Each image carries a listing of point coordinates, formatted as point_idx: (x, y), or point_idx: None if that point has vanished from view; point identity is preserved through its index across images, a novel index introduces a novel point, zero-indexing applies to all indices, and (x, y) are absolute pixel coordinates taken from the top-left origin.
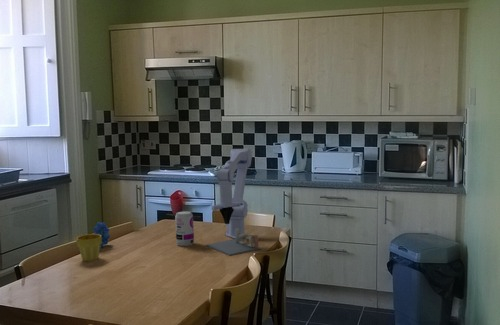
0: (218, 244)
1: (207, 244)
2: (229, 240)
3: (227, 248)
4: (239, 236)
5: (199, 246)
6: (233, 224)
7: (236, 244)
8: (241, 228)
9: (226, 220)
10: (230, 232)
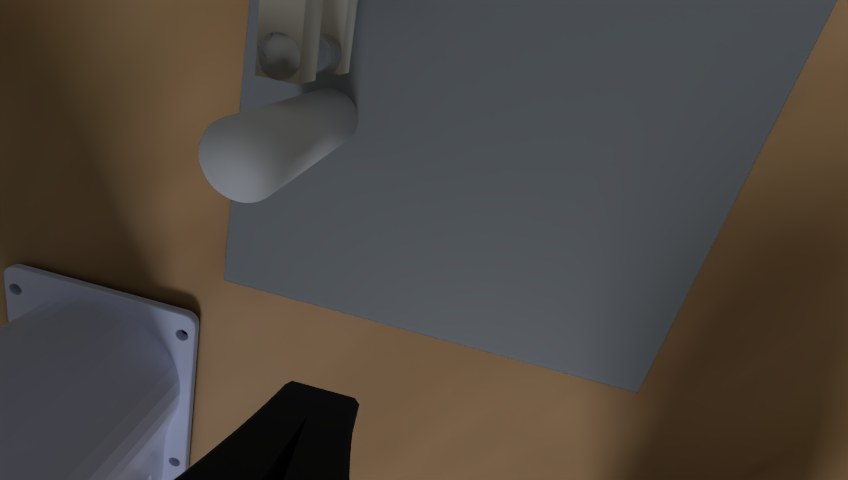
0: (550, 273)
1: (622, 380)
2: (322, 287)
3: (662, 9)
4: (316, 49)
5: (689, 422)
6: (55, 474)
7: (405, 64)
8: (8, 353)
9: (347, 477)
10: (154, 433)
